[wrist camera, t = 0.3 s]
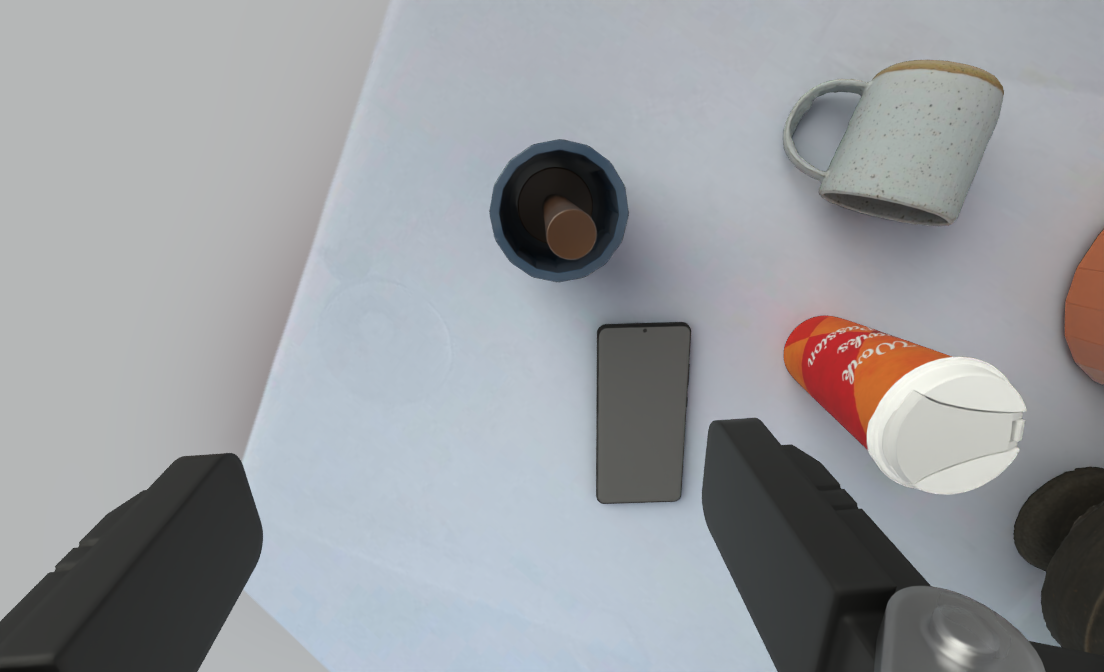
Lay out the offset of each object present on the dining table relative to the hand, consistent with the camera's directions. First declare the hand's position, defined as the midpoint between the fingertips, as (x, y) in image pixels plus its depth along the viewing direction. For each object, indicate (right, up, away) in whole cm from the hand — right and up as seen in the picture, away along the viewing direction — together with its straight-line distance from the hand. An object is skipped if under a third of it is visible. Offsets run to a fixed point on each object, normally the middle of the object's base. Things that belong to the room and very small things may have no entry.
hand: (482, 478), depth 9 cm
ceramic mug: (+22, +15, +27) cm, 38 cm away
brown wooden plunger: (+1, +11, +27) cm, 29 cm away
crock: (+1, +12, +27) cm, 30 cm away
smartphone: (+8, -4, +32) cm, 33 cm away
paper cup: (+21, +1, +31) cm, 38 cm away
